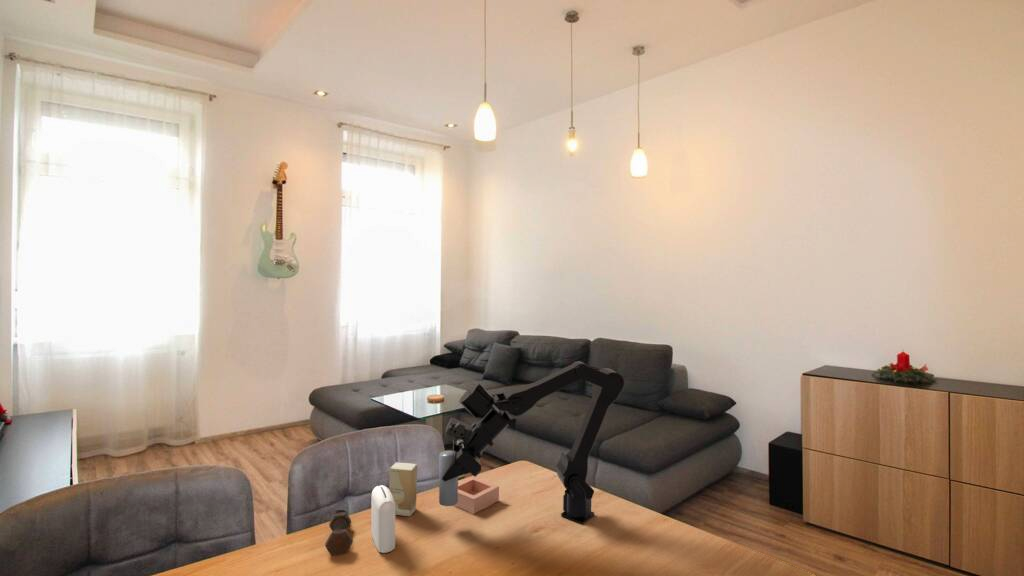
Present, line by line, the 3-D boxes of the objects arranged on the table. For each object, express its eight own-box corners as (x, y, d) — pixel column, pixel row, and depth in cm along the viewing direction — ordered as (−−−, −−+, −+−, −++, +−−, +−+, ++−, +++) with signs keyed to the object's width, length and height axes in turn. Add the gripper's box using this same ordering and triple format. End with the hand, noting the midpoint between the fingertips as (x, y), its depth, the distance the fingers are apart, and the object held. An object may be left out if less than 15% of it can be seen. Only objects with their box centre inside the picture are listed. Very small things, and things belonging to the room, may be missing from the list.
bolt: (343, 529, 123) (342, 561, 108) (325, 521, 121) (321, 553, 107) (355, 507, 124) (356, 536, 109) (337, 500, 122) (335, 527, 108)
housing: (498, 500, 135) (498, 486, 135) (473, 514, 127) (473, 499, 127) (472, 490, 141) (472, 476, 141) (447, 502, 133) (447, 488, 133)
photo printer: (369, 533, 117) (369, 482, 117) (387, 529, 119) (387, 479, 119) (377, 555, 108) (377, 500, 108) (397, 551, 110) (397, 496, 110)
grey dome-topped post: (461, 501, 122) (461, 453, 121) (448, 508, 118) (448, 458, 118) (448, 495, 125) (449, 449, 124) (435, 502, 121) (435, 454, 121)
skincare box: (387, 514, 126) (388, 467, 126) (394, 506, 131) (394, 461, 130) (411, 517, 125) (411, 469, 125) (417, 508, 130) (417, 463, 129)
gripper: (463, 398, 130) (420, 441, 129) (467, 419, 112) (418, 469, 111) (492, 426, 132) (450, 469, 130) (501, 451, 113) (452, 501, 112)
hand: (443, 475), depth 121 cm, fingers closed on grey dome-topped post, 5 cm apart
